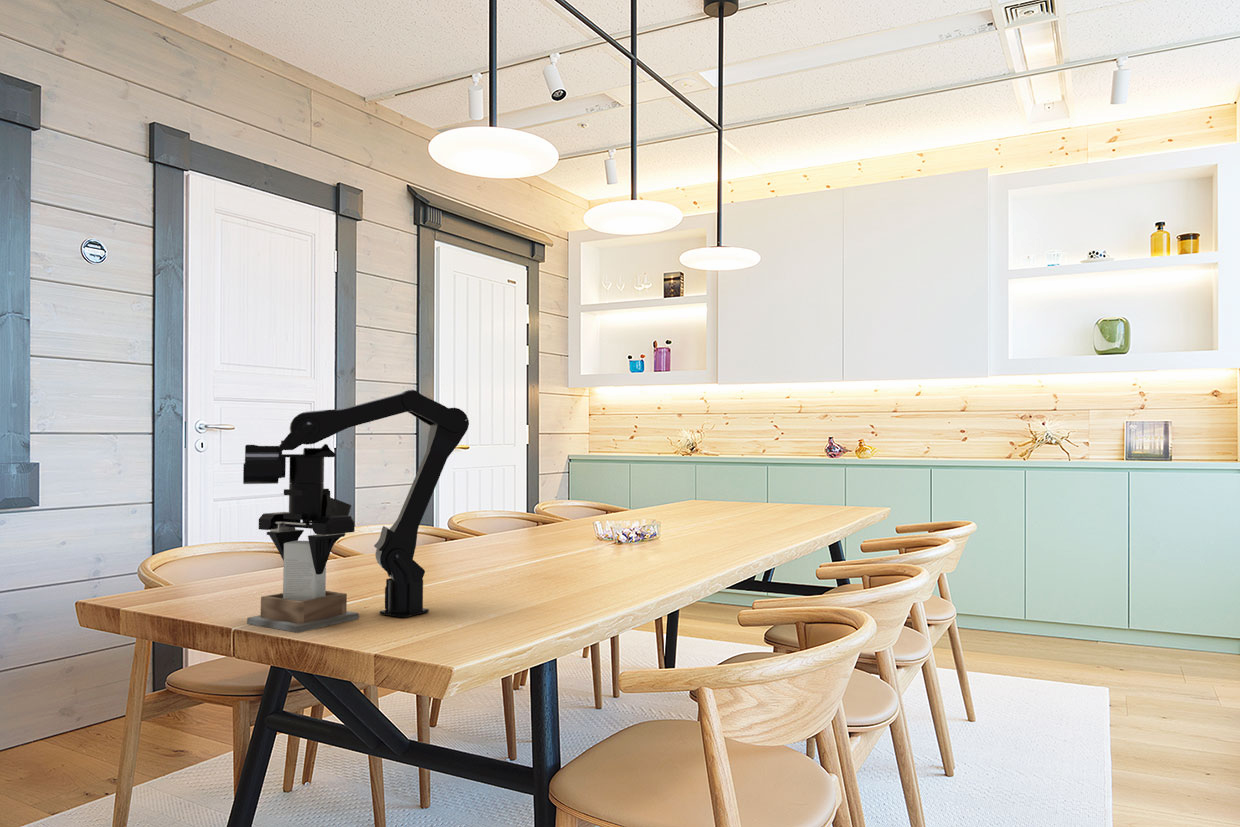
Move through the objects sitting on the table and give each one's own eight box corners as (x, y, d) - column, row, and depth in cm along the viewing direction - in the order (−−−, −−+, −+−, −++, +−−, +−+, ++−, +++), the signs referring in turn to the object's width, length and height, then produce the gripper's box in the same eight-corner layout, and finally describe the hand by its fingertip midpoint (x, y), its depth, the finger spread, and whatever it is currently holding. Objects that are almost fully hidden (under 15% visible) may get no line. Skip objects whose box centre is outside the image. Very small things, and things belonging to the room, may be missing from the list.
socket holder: (358, 618, 148) (359, 593, 148) (297, 632, 136) (297, 604, 137) (309, 611, 154) (310, 586, 154) (247, 623, 143) (247, 597, 143)
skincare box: (326, 608, 147) (327, 540, 148) (314, 613, 143) (316, 543, 143) (293, 607, 148) (295, 539, 148) (281, 612, 144) (282, 542, 144)
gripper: (379, 482, 148) (378, 570, 148) (309, 480, 158) (307, 563, 157) (328, 485, 139) (327, 579, 138) (257, 482, 148) (255, 570, 148)
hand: (305, 572), depth 146 cm, fingers open, 7 cm apart
